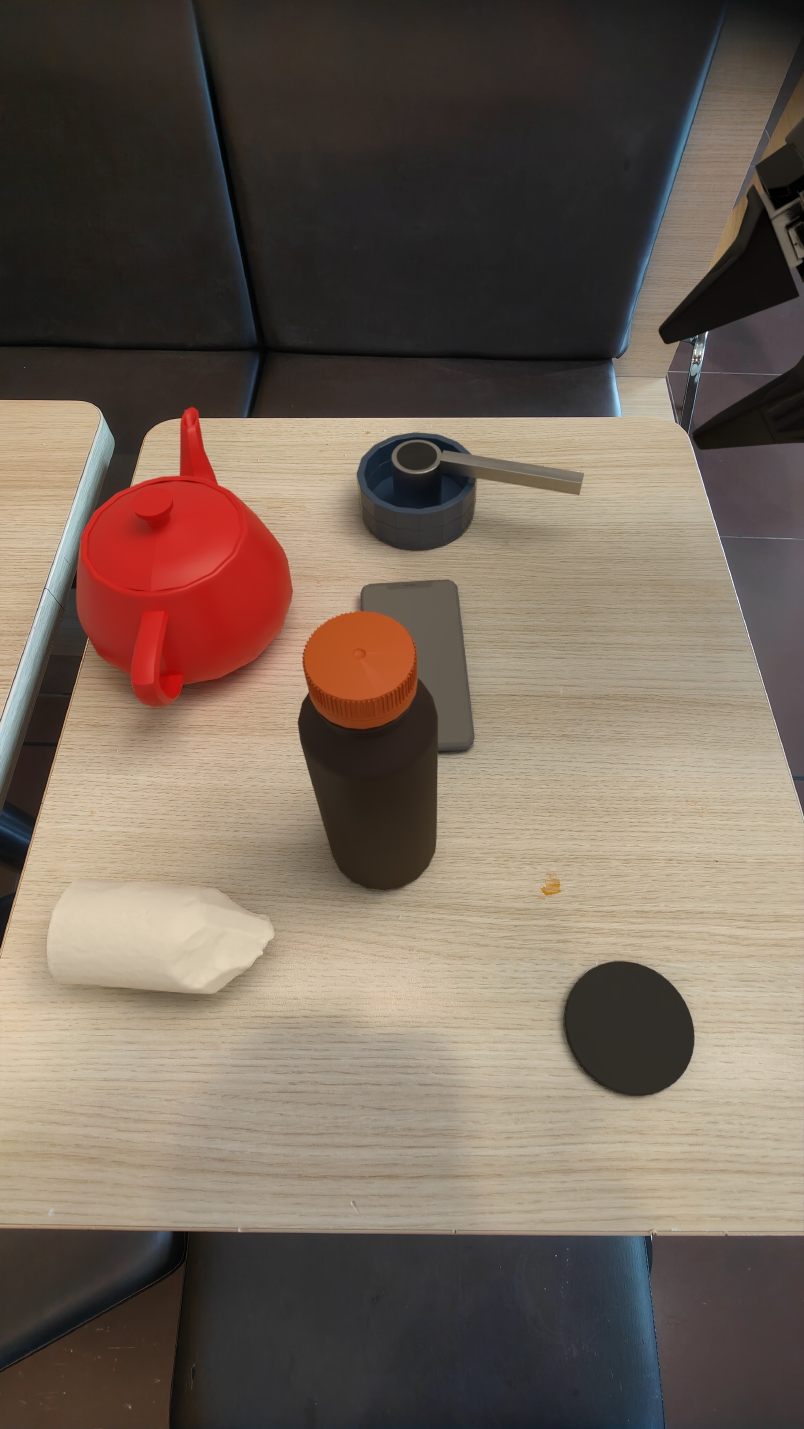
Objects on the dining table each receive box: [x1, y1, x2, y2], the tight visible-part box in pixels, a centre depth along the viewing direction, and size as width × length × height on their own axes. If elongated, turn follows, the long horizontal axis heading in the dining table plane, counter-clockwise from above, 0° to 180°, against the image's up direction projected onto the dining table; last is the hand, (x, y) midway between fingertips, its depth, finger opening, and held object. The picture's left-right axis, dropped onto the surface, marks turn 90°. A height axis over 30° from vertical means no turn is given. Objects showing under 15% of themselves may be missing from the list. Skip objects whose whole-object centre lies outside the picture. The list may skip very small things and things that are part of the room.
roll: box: [45, 877, 276, 995], centre depth 44 cm, size 6×12×6 cm, turn 85°
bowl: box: [356, 431, 478, 551], centre depth 65 cm, size 10×10×4 cm
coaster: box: [563, 960, 695, 1097], centre depth 43 cm, size 7×7×1 cm
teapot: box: [75, 406, 294, 708], centre depth 56 cm, size 25×16×12 cm, turn 0°
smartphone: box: [359, 578, 476, 752], centre depth 57 cm, size 8×1×15 cm
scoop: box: [392, 440, 585, 509], centre depth 63 cm, size 15×4×6 cm, turn 74°
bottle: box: [297, 610, 439, 892], centre depth 42 cm, size 7×7×20 cm
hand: (677, 386), depth 43 cm, fingers open, 9 cm apart
